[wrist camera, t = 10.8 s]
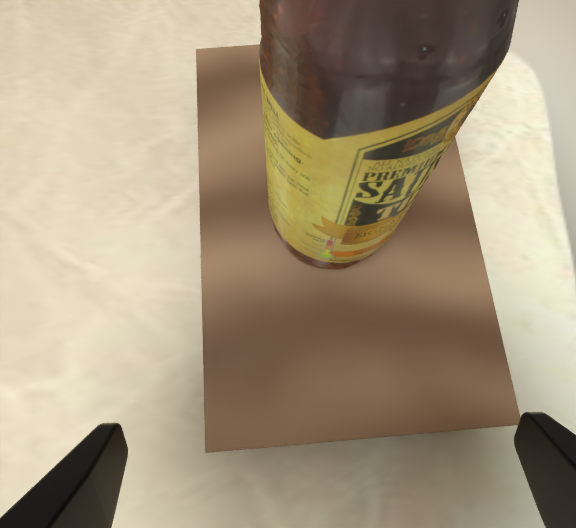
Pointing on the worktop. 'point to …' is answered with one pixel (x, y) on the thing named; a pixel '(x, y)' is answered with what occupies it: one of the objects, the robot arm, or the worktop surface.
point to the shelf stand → (334, 301)
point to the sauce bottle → (366, 110)
